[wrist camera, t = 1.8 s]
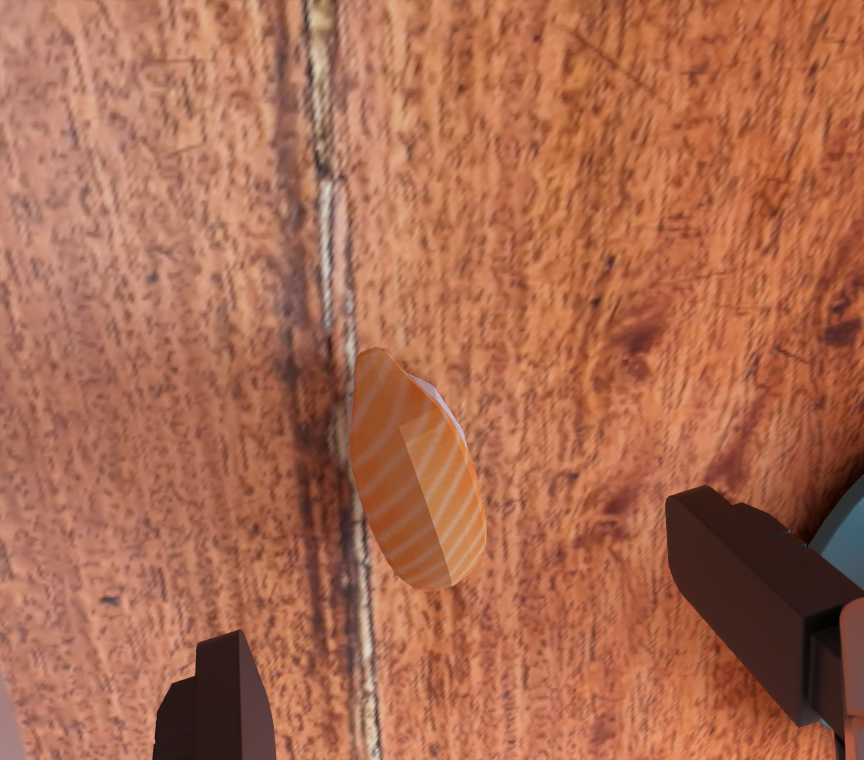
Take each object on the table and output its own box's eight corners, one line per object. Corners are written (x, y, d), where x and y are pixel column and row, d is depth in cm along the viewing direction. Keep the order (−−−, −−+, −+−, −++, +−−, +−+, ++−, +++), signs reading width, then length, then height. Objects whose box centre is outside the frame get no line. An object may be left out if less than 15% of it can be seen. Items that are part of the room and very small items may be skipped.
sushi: (391, 566, 20) (417, 645, 17) (305, 354, 17) (320, 409, 14) (484, 528, 20) (524, 600, 17) (414, 313, 17) (449, 359, 15)
